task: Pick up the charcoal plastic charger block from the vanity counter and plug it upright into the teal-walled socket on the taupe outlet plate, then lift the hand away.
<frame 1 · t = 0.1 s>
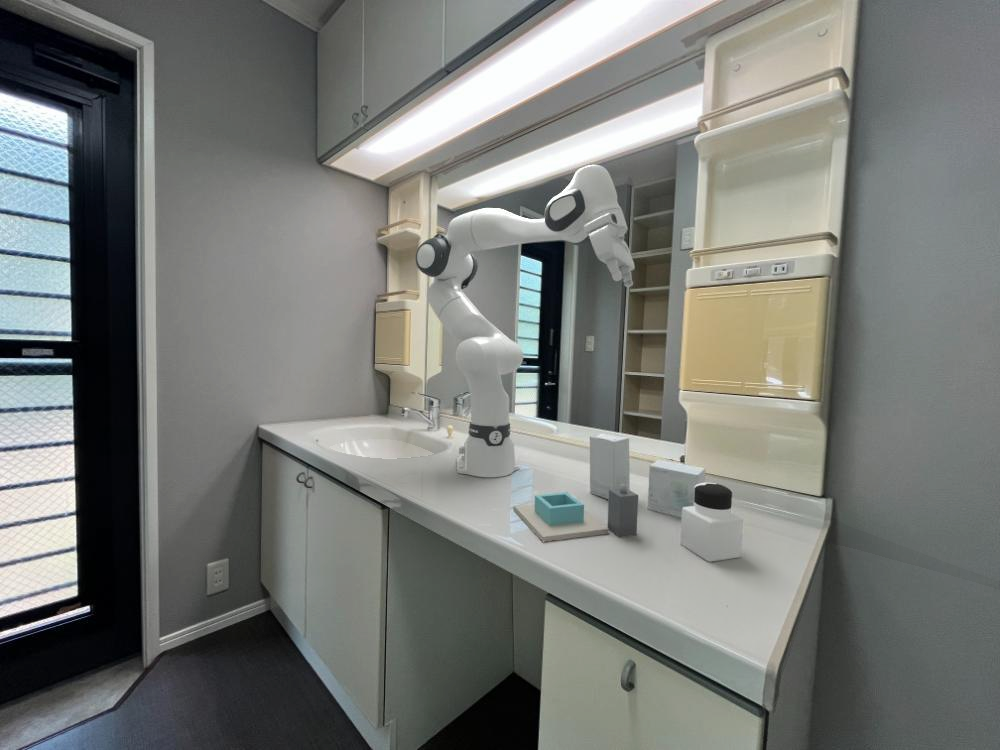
hand: (624, 283, 99), 52 cm above the worktop, tool tilted 20°, fingers open, 8 cm apart
medicine bottle: (709, 551, 75), on the worktop
outlet plate: (558, 521, 87), on the worktop
charger block: (621, 532, 82), on the worktop
skincare box: (608, 496, 103), on the worktop
skincare box 2: (674, 512, 93), on the worktop
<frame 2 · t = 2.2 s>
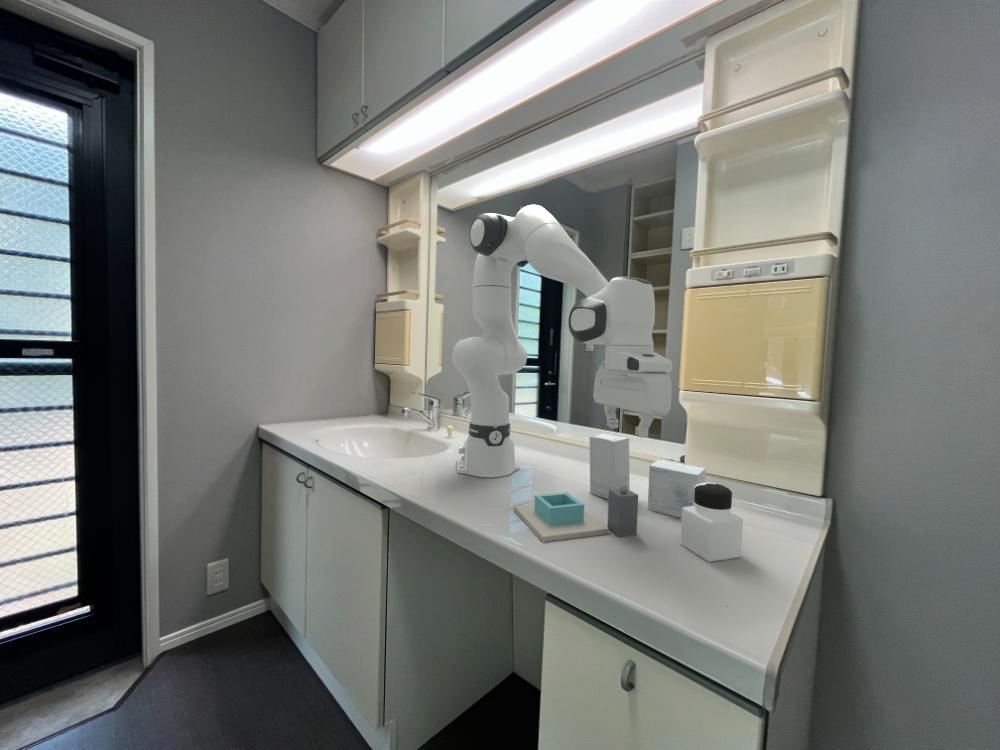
hand: (626, 431, 81), 20 cm above the worktop, tool pointing down, fingers open, 8 cm apart
nothing on the worktop moved.
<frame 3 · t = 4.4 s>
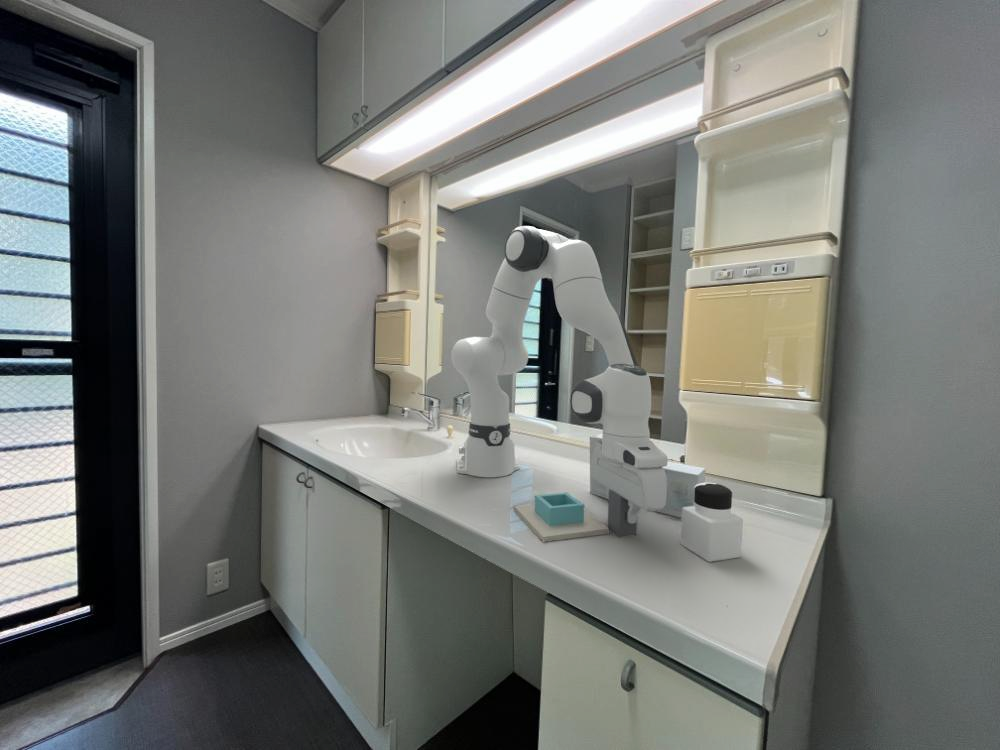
hand: (622, 516, 82), 3 cm above the worktop, tool pointing down, fingers closed on charger block, 4 cm apart
charger block: (621, 531, 82), on the worktop, touching gripper
everything else where it was.
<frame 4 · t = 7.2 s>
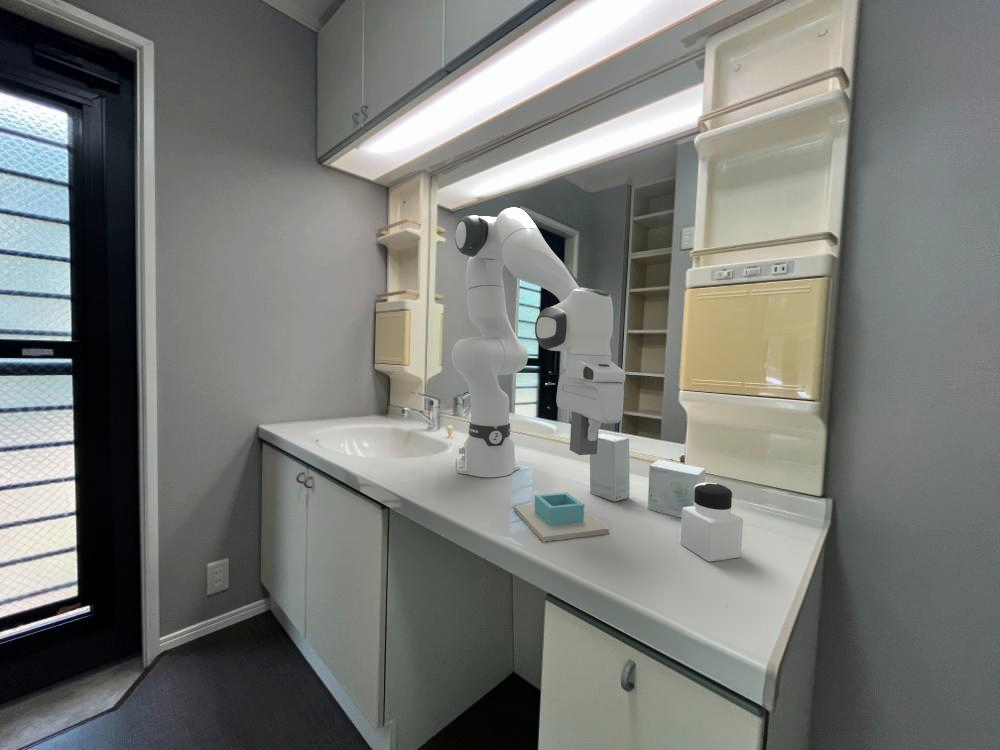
hand: (583, 436, 84), 18 cm above the worktop, tool pointing down, fingers closed on charger block, 4 cm apart
charger block: (583, 452, 85), point 15 cm above the worktop, touching gripper
everything else where it was.
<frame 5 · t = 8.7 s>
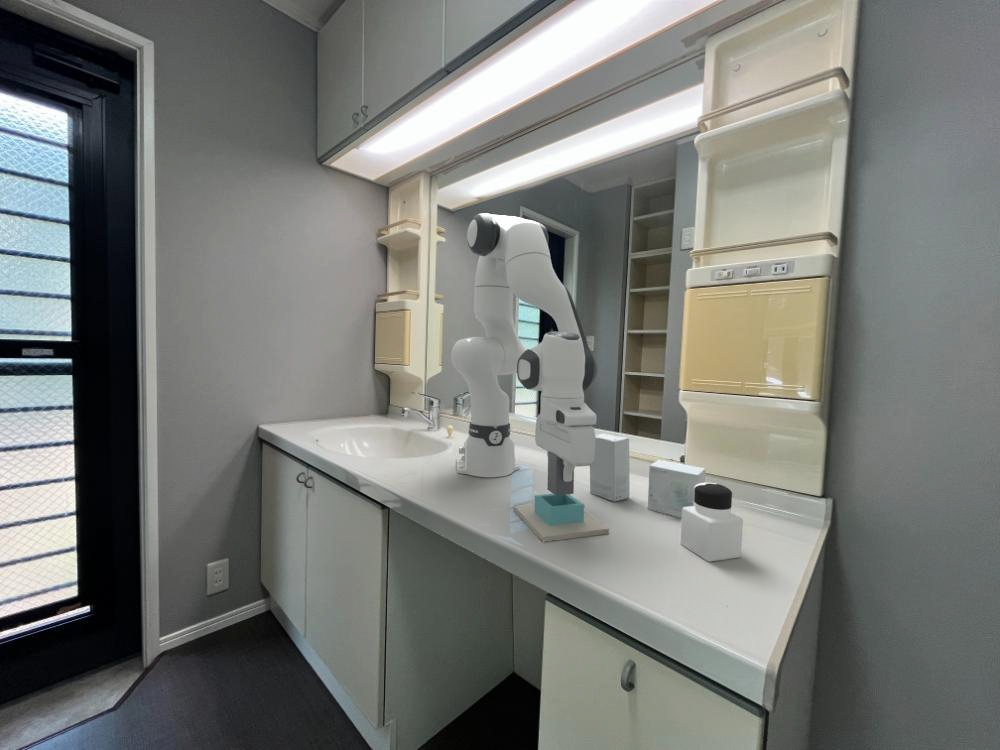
hand: (560, 476, 86), 9 cm above the worktop, tool pointing down, fingers closed on charger block, 4 cm apart
charger block: (560, 491, 86), point 6 cm above the worktop, touching gripper
everything else where it was.
when the fingers open (6 cm above the worktop, at t = 9.8 s): charger block drops 1 cm, resting on outlet plate.
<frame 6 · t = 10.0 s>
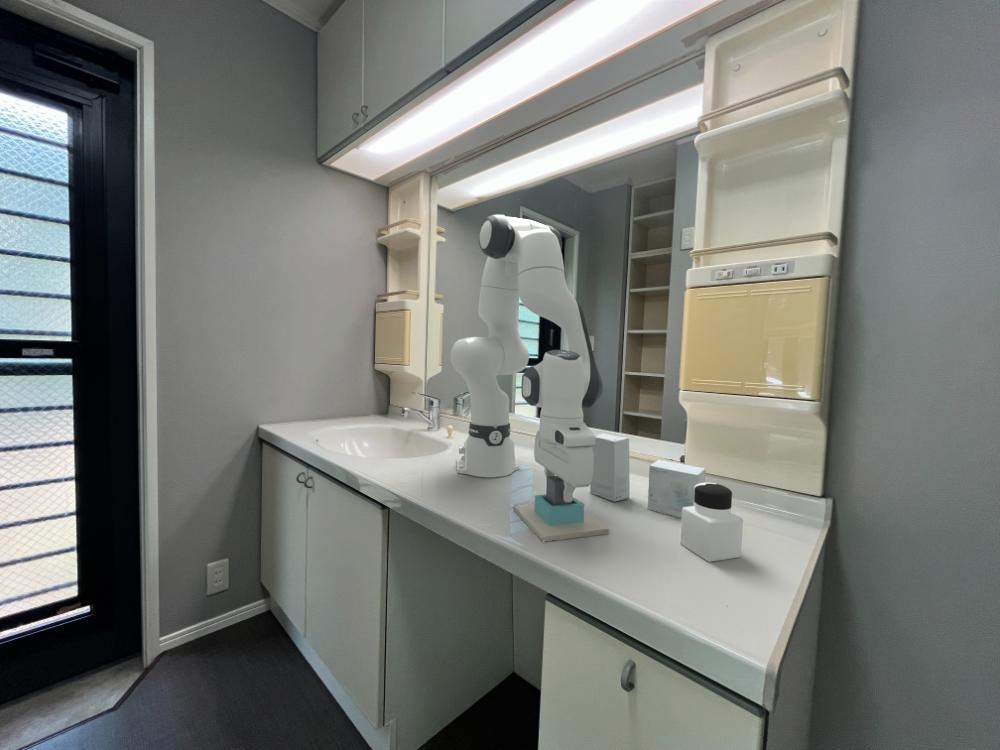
hand: (559, 494, 86), 6 cm above the worktop, tool pointing down, fingers open, 6 cm apart
charger block: (558, 516, 87), point 1 cm above the worktop, touching outlet plate
everything else where it was.
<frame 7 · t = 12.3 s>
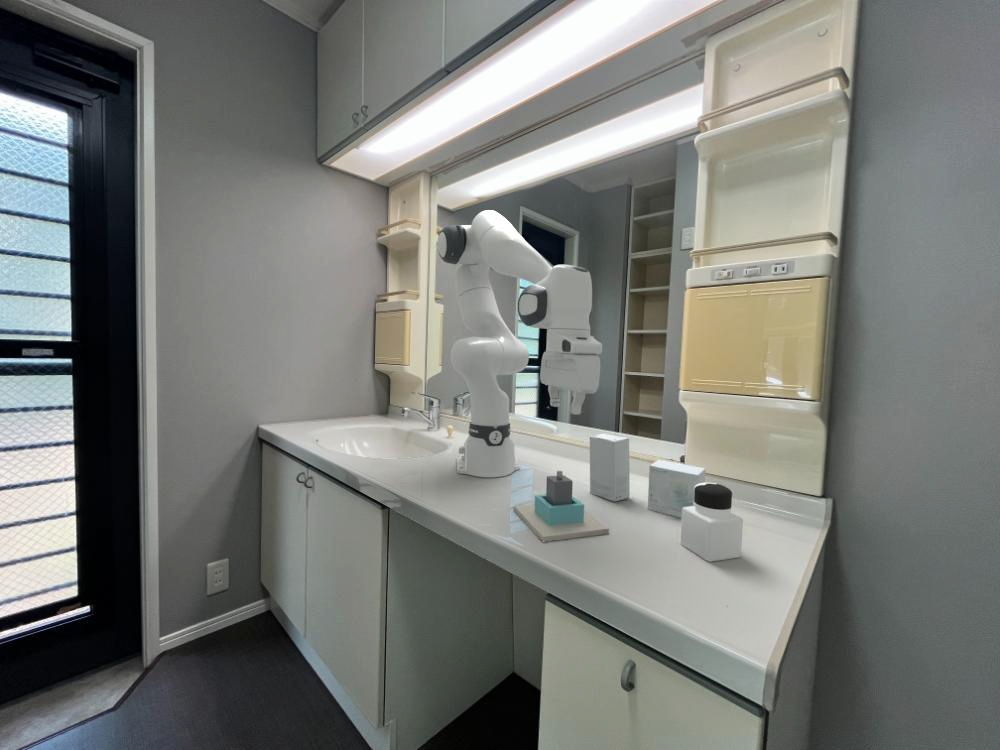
hand: (564, 409, 87), 23 cm above the worktop, tool pointing down, fingers open, 8 cm apart
nothing on the worktop moved.
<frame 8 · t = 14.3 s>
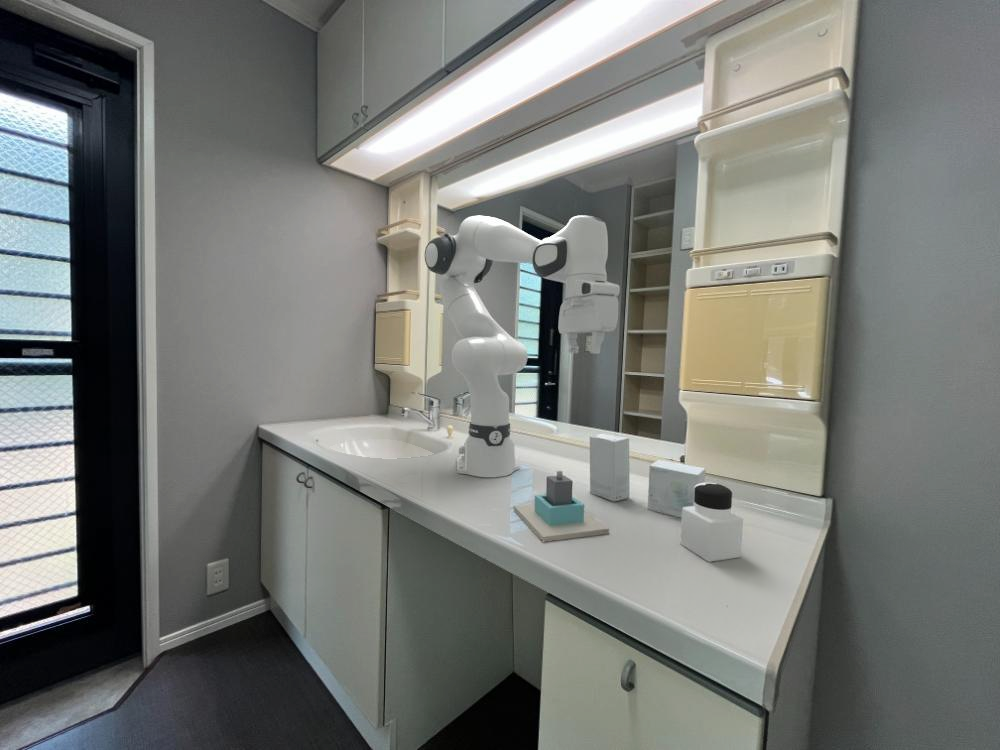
hand: (583, 353, 93), 35 cm above the worktop, tool pointing down, fingers open, 8 cm apart
nothing on the worktop moved.
at the end: charger block 0.1 cm off-centre on the outlet plate, point 1.0 cm above the outlet plate's base; charger block tilted 0°; the gripper is holding nothing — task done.
